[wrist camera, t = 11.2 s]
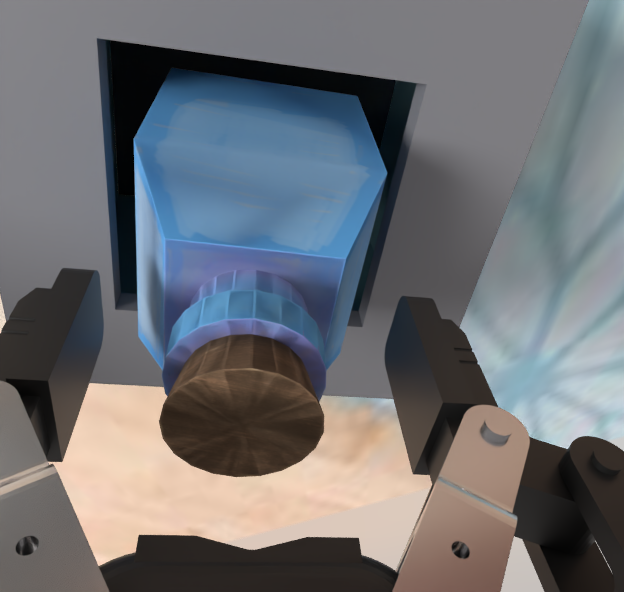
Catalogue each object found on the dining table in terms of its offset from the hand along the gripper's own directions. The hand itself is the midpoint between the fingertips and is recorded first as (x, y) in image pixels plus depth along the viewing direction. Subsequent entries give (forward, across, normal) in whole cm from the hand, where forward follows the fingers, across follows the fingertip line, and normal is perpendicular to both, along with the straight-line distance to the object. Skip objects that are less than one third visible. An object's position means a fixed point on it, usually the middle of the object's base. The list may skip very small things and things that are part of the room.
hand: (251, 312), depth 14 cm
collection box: (+19, 0, 0) cm, 19 cm away
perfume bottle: (+9, 0, 0) cm, 9 cm away
